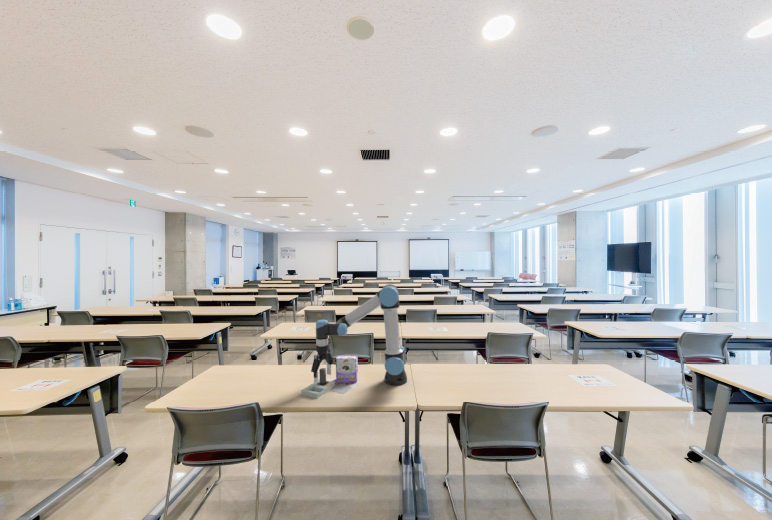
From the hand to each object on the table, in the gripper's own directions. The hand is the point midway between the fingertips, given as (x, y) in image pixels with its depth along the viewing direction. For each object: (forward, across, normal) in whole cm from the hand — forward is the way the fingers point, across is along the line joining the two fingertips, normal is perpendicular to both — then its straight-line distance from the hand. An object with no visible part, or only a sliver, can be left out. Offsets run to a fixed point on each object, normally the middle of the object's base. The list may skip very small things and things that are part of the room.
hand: (322, 378), depth 200 cm
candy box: (+7, -15, +9) cm, 19 cm away
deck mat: (+6, -2, +12) cm, 14 cm away
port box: (+6, +4, 0) cm, 8 cm away
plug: (+6, 0, 0) cm, 6 cm away
